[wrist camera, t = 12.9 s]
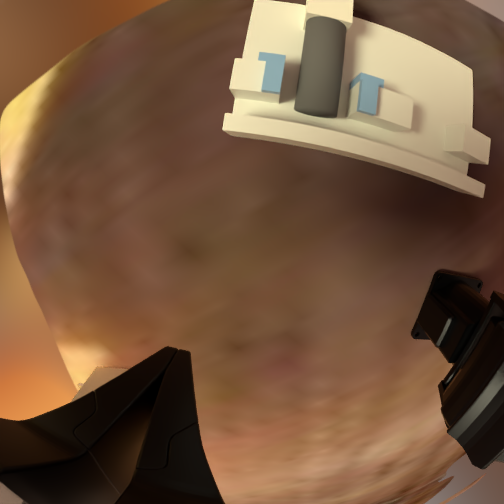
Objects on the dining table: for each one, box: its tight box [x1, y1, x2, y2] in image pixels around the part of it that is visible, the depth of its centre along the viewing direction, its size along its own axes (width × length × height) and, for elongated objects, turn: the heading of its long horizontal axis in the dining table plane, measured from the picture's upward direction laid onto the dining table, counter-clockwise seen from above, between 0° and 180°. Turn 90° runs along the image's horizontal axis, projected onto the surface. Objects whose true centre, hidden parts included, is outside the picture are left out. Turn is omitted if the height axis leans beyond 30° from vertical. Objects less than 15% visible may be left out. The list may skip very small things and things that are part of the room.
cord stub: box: [294, 0, 353, 118], centre depth 13 cm, size 3×10×3 cm, turn 171°
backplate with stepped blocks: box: [222, 0, 491, 198], centre depth 14 cm, size 18×11×4 cm, turn 81°
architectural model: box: [71, 367, 128, 402], centre depth 23 cm, size 3×7×7 cm, turn 100°
